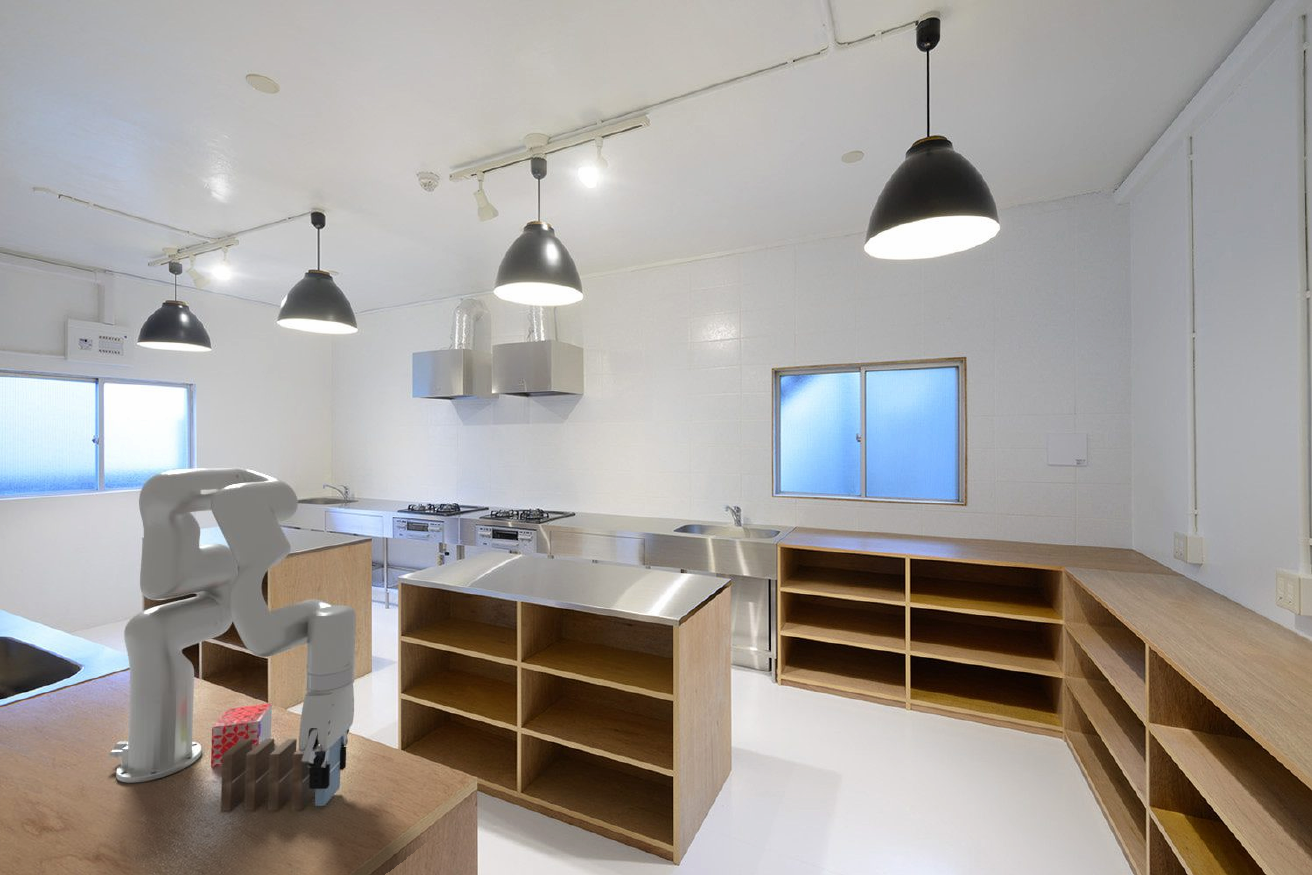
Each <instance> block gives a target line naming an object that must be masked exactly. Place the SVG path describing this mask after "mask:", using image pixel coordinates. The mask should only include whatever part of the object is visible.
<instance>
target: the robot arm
mask: <svg viewBox="0 0 1312 875" xmlns="http://www.w3.org/2000/svg"><path fill="white" fill-rule="evenodd" d="M138 498H139V499H138V505H139V507H138V508H139V512H140V517H141V521H142V527H143V540H142V550H141V560H140V562H141V563H140V570H139V571H140V572H139V573H140V574H139V587H140V591H141V593H142V595H143V596H144V597H145V598H146V599H148V600H152V601H164V600H168V599H174V598H179V597H184V596H189V595H192V594H196V596H193V597H189V598H186V599H182V600H181V599H180V600H177V601H176V600H175V601H172V602H167V603H164V604H161V605H157V606H156V605H155V606H153V607H150V608H148V609H145V610H142V611H140V612H138V613H137V614H135V615H134V616H133V617H132V618H130V619H129V621H128V622H127V623H126V625H125V628H124V631H123V636H124V637H123V639H124V645H125V648H126V652H127V656H128V665H129V701H128V702H129V704H128V705H129V707H128V709H129V710H128V733H127V734H128V738H127V740H119V741H118V742H116V743H115V745H114V748H113V749H112V750H111V751H110V753H109V755H108V756H109V758H112V759H113V758H114V759H115V758H116V759H117V758H121V763H120V765H119V766H118V767H117V768H116V772H115V778H116V779H117V780H118V781H120V782H121V783H127V784H128V783H129V784H131V783H133V784H134V783H135V784H136V783H143V782H149V781H154V780H158V779H160V778H164V777H167V776H170V775H172V774H175V773H177V772H179V771H182V770H184V769H186V768H187V767H189V766H191V765H192V764H193V763H195V762H196V761H197V760H198V759H200V757H201V756H202V751H203V750H202V749H203V747H202V745H201V744H200V743H199V742H197V741H193V732H194V731H193V727H194V700H195V699H194V698H195V697H194V695H195V693H194V692H195V669H194V666H193V663H192V662H191V661H190V660H189V659H188V658H187V657H186V656H185V655H184V654H183V649H185V648H188V647H191V646H193V645H196V644H199V643H202V642H205V641H208V640H209V641H210V640H211V639H215V638H216V637H219V636H222V635H223V634H224V633H225V632H227V631H228V630H229V629H230V627H231V626H232V625H234V627H235V629H236V631H237V633H238V635H239V637H240V639H241V641H242V643H243V644H244V646H245V647H246V648H247V650H248V651H249V652H251V653H252V655H254V656H258V657H260V658H268V657H273V656H277V655H278V654H281V653H284V652H287V651H289V650H291V649H294V648H296V647H298V646H302V645H304V644H306V678H305V691H306V693H305V695H304V699H303V704H302V708H301V713H300V714H301V716H300V722H299V723H300V725H299V736H298V749H299V750H300V751H304V754H303V757H302V763H306V764H307V765H308V768H310V775H309V788H310V789H327V788H328V787H329V785H330V764H328V757H329V750H330V747H331V746H332V745H333V744H334V743H335V742H336V741H337V740H338V739H339V738H340V737H341V749H340V771H343V770H345V769H346V767H347V745H348V742H349V739H348V734H349V732H350V728H351V727H352V725H353V722H354V717H355V716H354V715H355V714H354V713H355V694H354V692H355V691H354V690H355V689H354V683H355V671H356V670H355V665H356V664H355V660H356V628H357V627H356V623H357V621H356V620H357V614H356V611H355V609H354V608H353V607H351V606H350V605H349V606H348V605H341V604H340V605H338V604H337V605H334V604H331V603H328V602H326V601H324V600H321V599H316V598H315V599H314V598H313V599H311V598H310V599H306V600H303V601H299V602H296V603H294V604H289V605H286V606H283V607H279V608H277V609H273V610H270V608H269V607H268V605H267V603H266V601H265V599H264V594H263V589H262V586H263V579H264V577H265V575H266V573H267V571H268V570H271V569H272V568H273V567H275V566H276V565H277V564H279V563H280V562H282V561H283V560H284V559H286V558H287V557H288V555H290V553H291V544H290V542H289V539H288V538H287V536H286V535H285V533H284V531H283V530H284V529H283V528H282V526H281V525H280V523H279V522H282V521H283V522H284V521H286V520H289V519H290V518H292V517H293V516H294V515H295V514H296V512H297V510H298V505H299V504H298V500H299V499H298V497H297V494H296V492H295V490H294V489H293V488H292V487H291V486H290V485H289V484H288V483H286V482H285V481H283V480H281V479H278V478H276V477H272V476H269V475H267V474H263V473H262V472H261V473H260V472H257V471H255V470H252V469H248V468H245V467H244V468H243V467H220V468H219V467H216V468H214V467H213V468H207V467H206V468H183V469H173V470H168V471H167V470H166V471H163V472H159V473H156V474H154V475H152V476H151V477H150V478H148V479H147V481H145V483H144V484H143V486H142V487H141V490H140V493H139V497H138ZM207 511H211V512H212V514H213V517H214V519H215V521H216V523H217V526H218V527H219V529H220V531H221V533H222V535H223V538H224V540H225V542H226V543H227V545H228V546H227V545H225V544H221V543H208V544H202V545H200V539H201V537H200V536H201V527H200V524H199V522H198V521H197V519H196V518H195V516H194V514H192V513H195V512H207ZM232 623H233V624H232ZM317 744H319V746H317ZM320 745H322V746H320ZM316 752H323V755H322V758H321V757H320V756H316Z"/></svg>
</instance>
